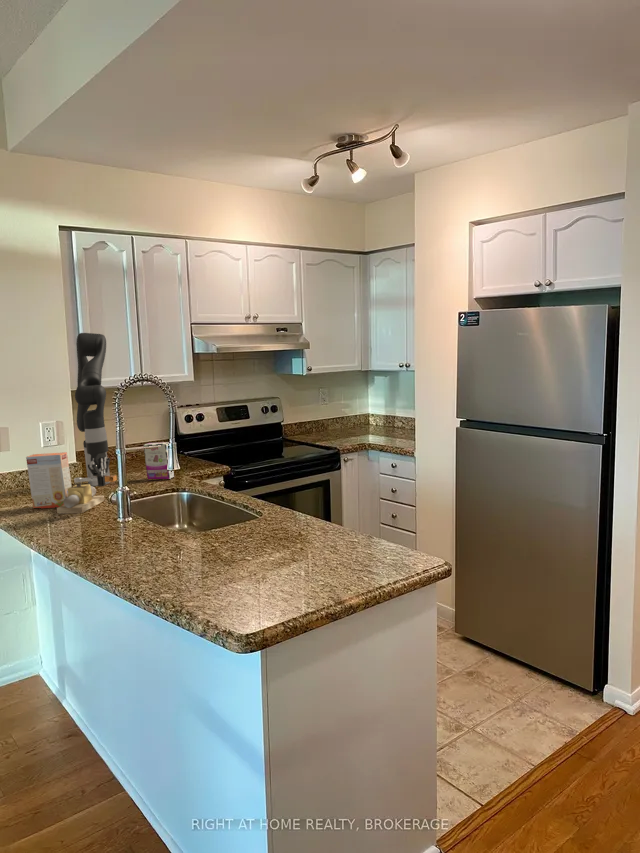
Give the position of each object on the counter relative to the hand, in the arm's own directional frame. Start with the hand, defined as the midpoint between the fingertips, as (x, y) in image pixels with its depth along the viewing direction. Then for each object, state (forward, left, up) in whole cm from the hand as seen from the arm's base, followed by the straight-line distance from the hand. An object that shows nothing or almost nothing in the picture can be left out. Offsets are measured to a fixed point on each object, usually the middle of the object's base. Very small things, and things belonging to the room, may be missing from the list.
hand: (102, 485), depth 232 cm
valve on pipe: (-6, -13, -9) cm, 17 cm away
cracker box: (-8, -25, -10) cm, 28 cm away
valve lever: (-6, -6, 0) cm, 8 cm away
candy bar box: (-50, +1, -10) cm, 51 cm away
